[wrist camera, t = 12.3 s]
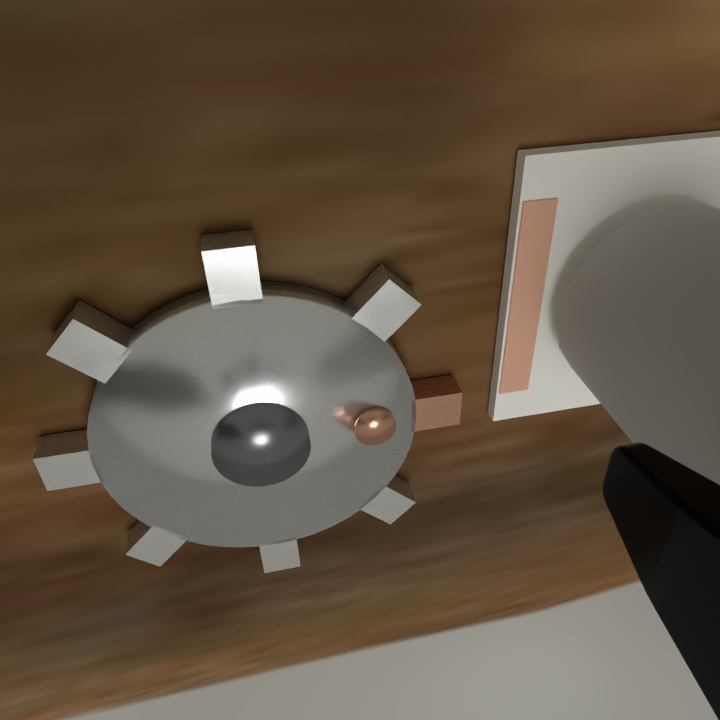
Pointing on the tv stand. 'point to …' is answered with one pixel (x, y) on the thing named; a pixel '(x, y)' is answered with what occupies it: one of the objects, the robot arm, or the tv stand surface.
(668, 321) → the can
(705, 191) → the pad
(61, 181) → the tv stand surface
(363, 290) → the sprocket
